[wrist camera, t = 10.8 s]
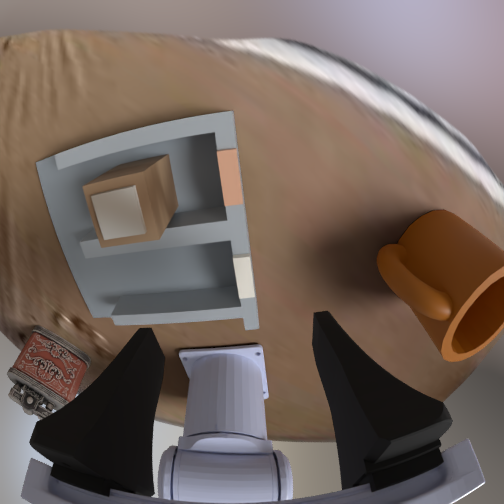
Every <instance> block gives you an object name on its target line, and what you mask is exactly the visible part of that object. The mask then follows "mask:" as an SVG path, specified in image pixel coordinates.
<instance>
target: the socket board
mask: <svg viewBox="0 0 504 504" xmlns="http://www.w3.org/2000/svg"><path fill="white" fill-rule="evenodd" d="M165 154H169V158H170V164H171V169H172V174H173V180H174V185H175V190H176V195H177V200H178V205H179V206H178V208H177V210H176V211H175V213H174V215H173V217H172V218H171V220H170V222H169V224H168V225H167V227H166V229H165V231H164V233H163V235H162V236H161V238H160V240H154V241H147V242H139V243H132V244H125V245H118V246H111V247H105V248H101V246H100V243H99V240H98V237H97V234H96V231H95V228H94V225H93V222H92V218H91V215H90V212H89V209H88V205H87V202H86V198H85V194H84V191H83V187H82V186H84V185H85V184H87V183H88V182H90V181H92V180H93V179H95V178H97V177H98V176H100V175H102V174H103V173H105V172H107V171H109V170H110V169H112V168H114V167H116V166H118V165H120V164H124V163H128V162H132V161H137V160H141V159H146V158H150V157H155V156H160V155H165ZM36 166H37V170H38V174H39V178H40V182H41V186H42V189H43V193H44V196H45V200H46V203H47V206H48V210H49V213H50V216H51V219H52V222H53V225H54V228H55V231H56V234H57V236H58V239H59V242H60V244H61V247H62V250H63V252H64V255H65V257H66V260H67V262H68V265H69V267H70V269H71V272H72V274H73V276H74V279H75V281H76V283H77V285H78V287H79V290H80V292H81V294H82V296H83V298H84V300H85V302H86V304H87V306H88V308H89V310H90V312H91V314H92V316H93V318H99V317H112V319H113V321H114V323H115V325H143V324H165V323H182V322H197V321H210V320H222V319H233V318H243V319H244V325H245V330H251V329H259V321H258V309H257V299H256V291H255V282H254V274H253V266H252V258H251V250H250V242H249V234H248V226H247V218H246V210H245V201H244V193H243V185H242V177H241V169H240V161H239V153H238V144H237V136H236V128H235V120H234V112H233V111H227V112H220V113H213V114H207V115H200V116H195V117H189V118H184V119H178V120H173V121H168V122H164V123H159V124H155V125H150V126H146V127H142V128H138V129H134V130H130V131H127V132H123V133H119V134H116V135H112V136H109V137H105V138H102V139H99V140H96V141H93V142H90V143H87V144H84V145H81V146H78V147H75V148H72V149H69V150H66V151H64V152H61V153H58V154H56V155H53V156H51V157H48V158H46V159H43V160H41V161H39V162H36Z"/></svg>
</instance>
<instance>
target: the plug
mask: <svg viewBox="0 0 504 504" xmlns="http://www.w3.org/2000/svg"><path fill="white" fill-rule="evenodd" d="M82 187H83V191H84V194H85V198H86V202H87V205H88V209H89V212H90V215H91V218H92V222H93V225H94V228H95V231H96V234H97V237H98V240H99V243H100V246H101V248H105V247H111V246H118V245H125V244H132V243H139V242H147V241H154V240H160V238H161V236H162V235H163V233H164V231H165V229H166V227H167V225H168V224H169V222H170V220H171V218H172V217H173V215H174V213H175V211H176V210H177V208H178V206H179V205H178V200H177V195H176V190H175V185H174V180H173V174H172V169H171V164H170V158H169V154H165V155H160V156H155V157H150V158H146V159H141V160H137V161H132V162H128V163H124V164H120V165H118V166H116V167H114V168H112V169H110V170H109V171H107V172H105V173H103V174H102V175H100V176H98V177H97V178H95V179H93V180H92V181H90V182H88V183H87V184H85V185H84V186H82Z"/></svg>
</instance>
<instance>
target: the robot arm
mask: <svg viewBox="0 0 504 504" xmlns="http://www.w3.org/2000/svg"><path fill="white" fill-rule="evenodd" d="M312 346H313V351H314V357H315V361H316V366H317V369H318V372H319V375H320V378H321V381H322V384H323V387H324V390H325V394H326V397H327V400H328V403H329V406H330V410H331V415H332V420H333V425H334V431H335V437H336V443H337V449H338V457H339V464H340V472H341V484H342V490H341V491H337V492H332V493H327V494H322V495H317V496H311V497H305V498H298V499H292V497H293V478H292V471H291V466H290V463H289V460H288V458H287V457H286V456H285V455H284V454H283V453H282V452H281V451H279V450H273V447H272V441H271V440H267V433H266V421H265V409H264V399H267V398H268V397H269V396H268V387H267V379H266V371H265V363H264V355H263V347H262V346H261V345H259V344H256V345H246V346H234V347H222V348H207V349H188V350H180V351H179V357H180V359H181V361H182V364H183V366H184V368H185V370H186V373H187V375H188V377H189V379H190V382H189V390H188V398H187V406H186V415H185V424H184V433H183V437H182V436H180V437H179V441H178V446H170V447H169V448H168V449H167V450H165V451H164V452H163V454H162V456H161V460H160V465H159V471H158V496H159V498H153V497H151V496H153V495H154V494H155V492H154V483H153V471H152V470H153V469H152V440H153V424H154V418H155V412H156V408H157V403H158V398H159V394H160V389H161V384H162V380H163V373H164V362H165V356H164V354H163V352H162V350H161V348H160V346H159V344H158V341H157V339H156V337H155V335H154V332H153V330H152V328H139V329H138V331H137V332H136V333H135V334H134V335H133V337H132V338H131V339H130V340H129V342H128V343H127V344H126V345H125V347H124V348H123V349H122V350H121V352H120V353H119V354H118V355H117V357H116V358H115V359H114V360H113V361H112V362H111V364H110V365H109V366H108V367H107V368H106V369H105V370H104V371H103V373H102V374H101V375H100V376H99V377H98V378H97V379H96V380H95V381H94V382H93V383H92V384H91V385H90V386H89V387H88V388H87V389H85V390H84V391H83V392H82V393H81V394H79V395H78V396H77V397H76V398H74V399H73V400H72V401H71V402H69V403H68V404H66V405H65V406H64V407H62V408H61V409H59V410H57V411H56V412H54V413H53V414H51V415H49V416H47V417H45V418H43V419H41V420H39V421H37V422H36V425H35V428H34V430H33V433H32V436H31V439H30V442H29V443H30V445H31V446H32V447H33V448H34V449H35V450H36V451H37V452H39V453H40V454H41V455H43V456H44V457H46V458H47V459H49V460H50V461H52V462H53V467H51V466H49V465H47V464H45V463H42V462H40V461H38V460H35V459H33V458H31V460H30V463H29V466H28V470H27V473H26V477H25V481H24V485H23V489H22V493H21V497H22V498H23V499H25V500H27V501H28V502H30V503H32V504H452V503H454V502H456V501H457V500H459V499H461V498H462V497H464V496H466V495H467V494H469V493H470V492H472V491H474V490H475V489H477V488H478V487H480V486H481V485H483V484H484V483H485V479H484V476H483V473H482V470H481V468H480V465H479V463H478V460H477V458H476V455H475V453H474V450H473V448H472V445H471V443H470V441H469V439H465V440H463V441H461V442H459V443H458V444H456V445H454V446H452V447H450V448H448V449H446V450H445V451H443V452H442V453H441V452H440V450H439V447H440V446H441V442H440V440H439V438H440V437H441V436H442V435H443V434H444V433H445V432H446V431H447V430H448V429H449V427H450V426H451V424H452V422H453V420H452V418H451V416H450V414H449V412H448V410H447V408H446V407H445V405H444V403H443V402H441V401H438V400H436V399H434V398H431V397H429V396H427V395H424V394H422V393H421V392H419V391H417V390H415V389H413V388H411V387H410V386H408V385H407V384H405V383H403V382H402V381H400V380H399V379H397V378H395V377H394V376H393V375H391V374H390V373H389V372H387V371H386V370H385V369H383V368H382V367H381V366H380V365H378V364H377V363H376V362H375V361H374V360H373V359H371V358H370V357H369V356H368V355H367V354H366V353H365V352H364V351H363V350H362V349H361V348H360V347H359V346H358V345H357V344H356V343H355V342H354V341H353V340H352V339H351V338H350V337H349V335H348V334H347V333H346V332H345V331H344V330H343V329H342V327H341V326H340V325H339V324H338V323H337V321H336V320H335V319H334V318H333V316H332V315H331V314H330V312H328V311H322V312H316V313H314V318H313V339H312ZM257 352H259V353H257ZM185 357H186V358H185Z"/></svg>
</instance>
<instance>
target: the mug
mask: <svg viewBox="0 0 504 504" xmlns="http://www.w3.org/2000/svg"><path fill="white" fill-rule="evenodd" d="M377 265H378V269H379V272H380V274H381V276H382V278H383V279H384V281H385V282H386V283H387V285H388V286H389V287H390V288H391V290H392V291H393V292H394V293H395V294H396V295H397V296H398V297H399V298H400V299H401V300H403V301H404V302H405V303H406V304H408V305H409V306H410V308H411V309H412V311H413V312H414V314H415V315H416V316H417V318H418V319H419V321H420V322H421V324H422V325H423V327H424V328H425V330H426V331H427V333H428V335H429V336H430V338H431V339H432V341H433V342H434V344H435V345H436V347H437V349H438V350H439V352H440V353H441V355H442V357H443V358H444V359H445V360H447V361H449V362H455V361H461V360H463V359H466V358H468V357H470V356H472V355H474V354H475V353H477V352H478V351H480V350H481V349H483V348H484V347H485V346H486V345H487V344H488V343H490V342H491V341H492V340H493V339H494V338H495V337H496V336H497V335H498V333H499V332H500V331H501V330H502V329H503V328H504V251H503V250H502V249H501V248H499V247H498V246H497V245H496V244H494V243H493V242H492V241H491V240H489V239H488V238H487V237H485V236H484V235H483V234H482V233H480V232H479V231H478V230H476V229H475V228H473V227H472V226H471V225H469V224H468V223H466V222H465V221H464V220H462V219H461V218H459V217H458V216H456V215H455V214H453V213H451V212H449V211H446V210H434V211H431V212H429V213H427V214H425V215H422V216H421V217H420V218H418V219H417V220H416V221H415V222H414V223H412V224H411V225H410V226H409V227H408V229H407V230H406V231H405V233H404V234H403V235H402V237H401V238H400V239H399V241H398V244H388V245H386V246H384V247H382V248H381V249H380V250H379V252H378V255H377Z"/></svg>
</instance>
